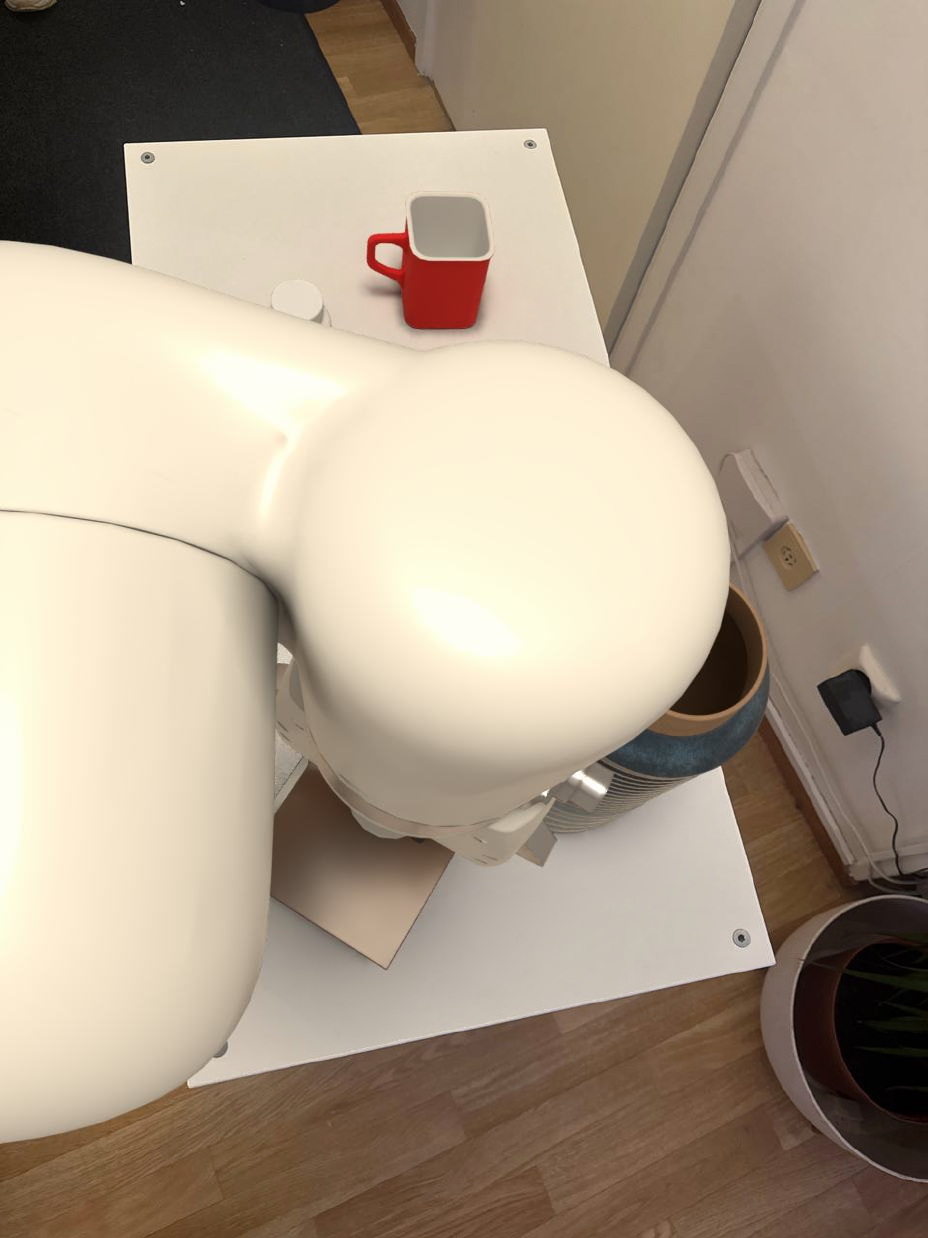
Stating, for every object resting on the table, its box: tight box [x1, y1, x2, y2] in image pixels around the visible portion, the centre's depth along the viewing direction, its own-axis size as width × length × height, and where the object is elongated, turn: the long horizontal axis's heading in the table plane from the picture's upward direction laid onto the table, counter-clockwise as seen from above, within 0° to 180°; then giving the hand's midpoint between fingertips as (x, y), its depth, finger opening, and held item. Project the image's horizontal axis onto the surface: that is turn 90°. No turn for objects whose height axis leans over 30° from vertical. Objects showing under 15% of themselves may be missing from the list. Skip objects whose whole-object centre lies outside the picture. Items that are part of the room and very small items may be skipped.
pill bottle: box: [268, 278, 333, 327], centre depth 84 cm, size 6×6×11 cm
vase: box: [543, 580, 771, 833], centre depth 66 cm, size 16×16×32 cm
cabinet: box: [270, 755, 456, 971], centre depth 61 cm, size 11×14×31 cm
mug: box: [366, 190, 496, 330], centre depth 89 cm, size 12×8×11 cm
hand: (394, 788), depth 42 cm, fingers closed on rook chess piece, 3 cm apart
